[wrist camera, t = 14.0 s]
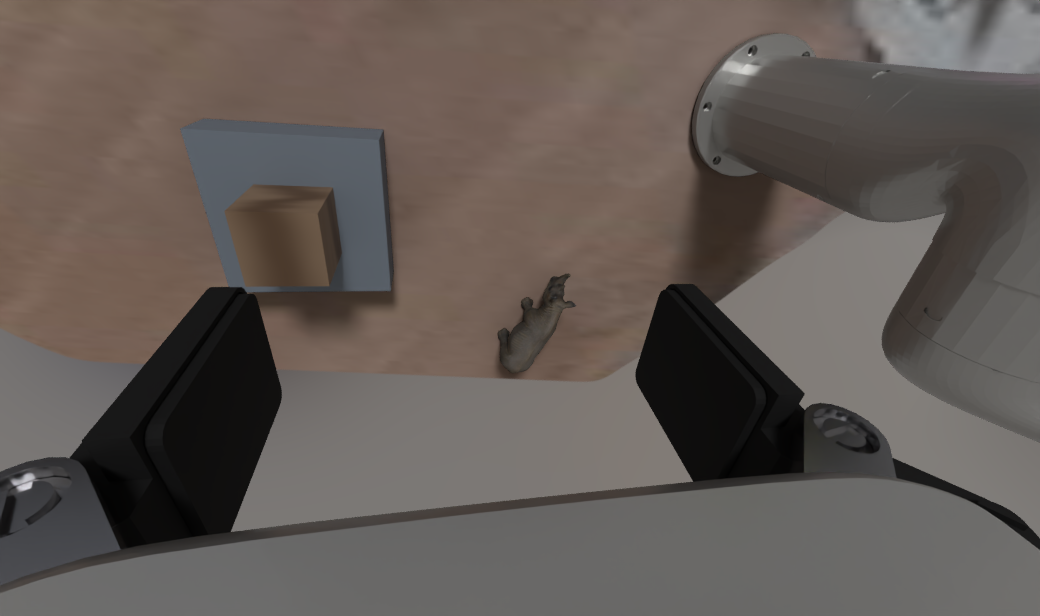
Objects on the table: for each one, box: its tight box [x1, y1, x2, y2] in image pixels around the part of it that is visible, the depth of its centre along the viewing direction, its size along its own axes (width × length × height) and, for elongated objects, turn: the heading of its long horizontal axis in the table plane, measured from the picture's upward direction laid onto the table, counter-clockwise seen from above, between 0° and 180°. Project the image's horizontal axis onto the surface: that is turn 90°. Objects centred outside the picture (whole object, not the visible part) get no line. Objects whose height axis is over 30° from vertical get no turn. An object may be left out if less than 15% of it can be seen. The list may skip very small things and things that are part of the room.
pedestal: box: [180, 119, 394, 292], centre depth 39 cm, size 14×14×4 cm
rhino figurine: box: [498, 274, 576, 373], centre depth 49 cm, size 4×14×6 cm, turn 147°
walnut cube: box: [224, 184, 342, 287], centre depth 34 cm, size 6×6×6 cm
